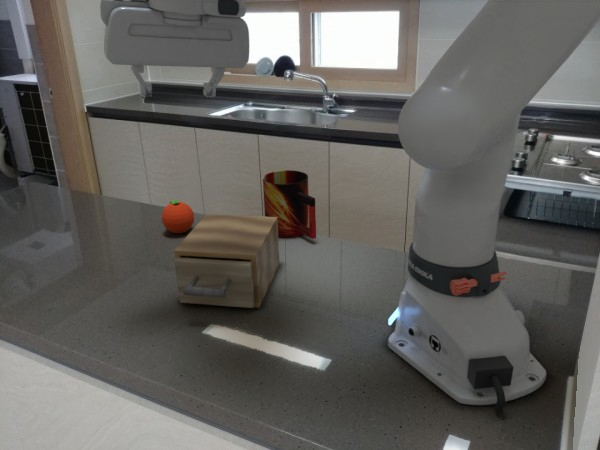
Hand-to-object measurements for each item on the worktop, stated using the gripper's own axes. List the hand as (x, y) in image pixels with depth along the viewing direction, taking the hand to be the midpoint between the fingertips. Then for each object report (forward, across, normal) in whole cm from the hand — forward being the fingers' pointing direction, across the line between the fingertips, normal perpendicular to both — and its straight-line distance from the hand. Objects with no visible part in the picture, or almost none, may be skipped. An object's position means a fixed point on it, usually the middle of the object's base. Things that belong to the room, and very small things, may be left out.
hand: (178, 95), depth 80 cm
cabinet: (+33, +10, -3) cm, 35 cm away
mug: (+34, +29, +12) cm, 46 cm away
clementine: (+38, +6, +24) cm, 45 cm away
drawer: (+32, +7, -7) cm, 34 cm away
